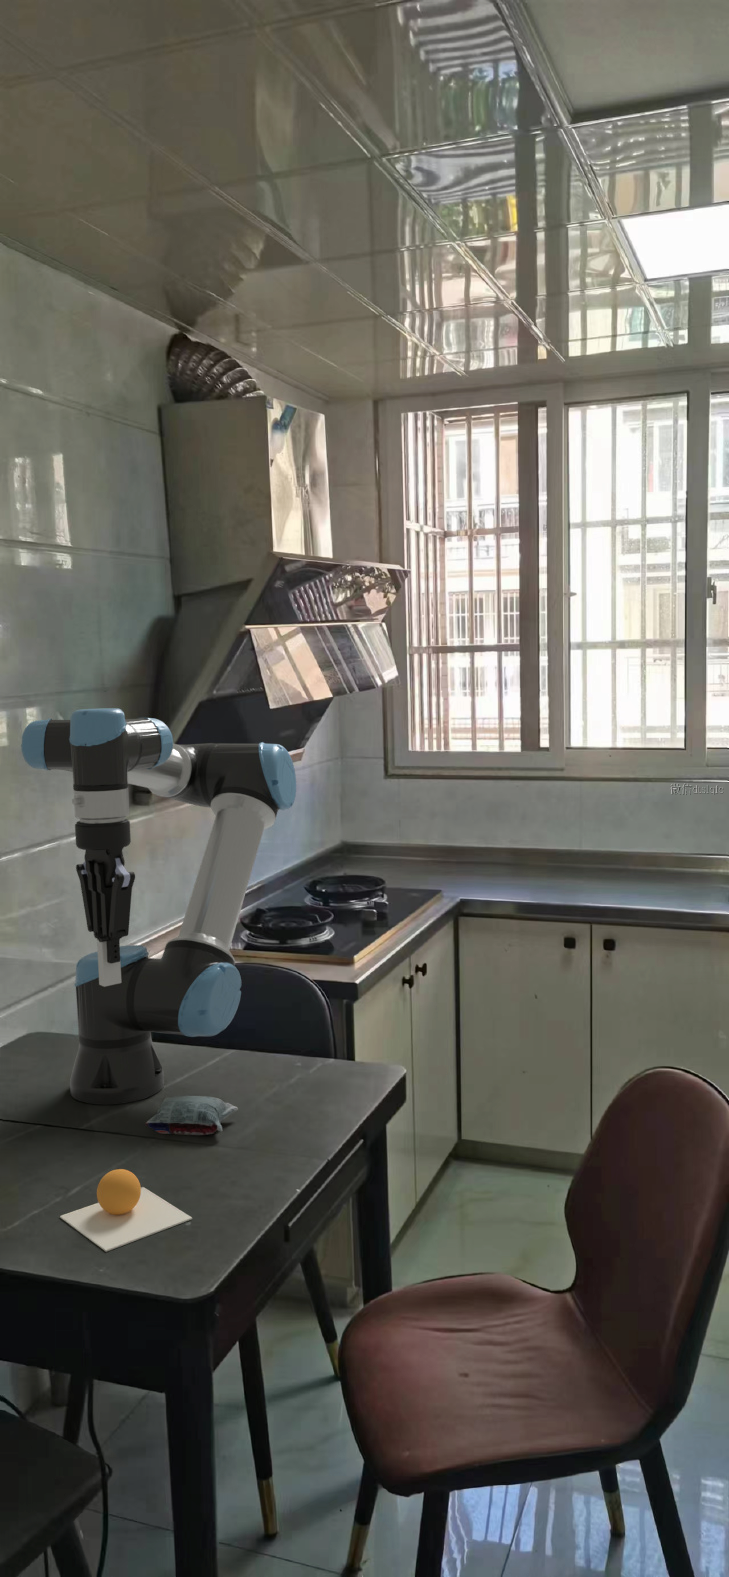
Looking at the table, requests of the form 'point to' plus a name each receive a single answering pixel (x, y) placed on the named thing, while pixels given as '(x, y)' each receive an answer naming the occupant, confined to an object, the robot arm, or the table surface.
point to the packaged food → (190, 1115)
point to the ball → (118, 1191)
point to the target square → (125, 1221)
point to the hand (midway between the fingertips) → (110, 983)
